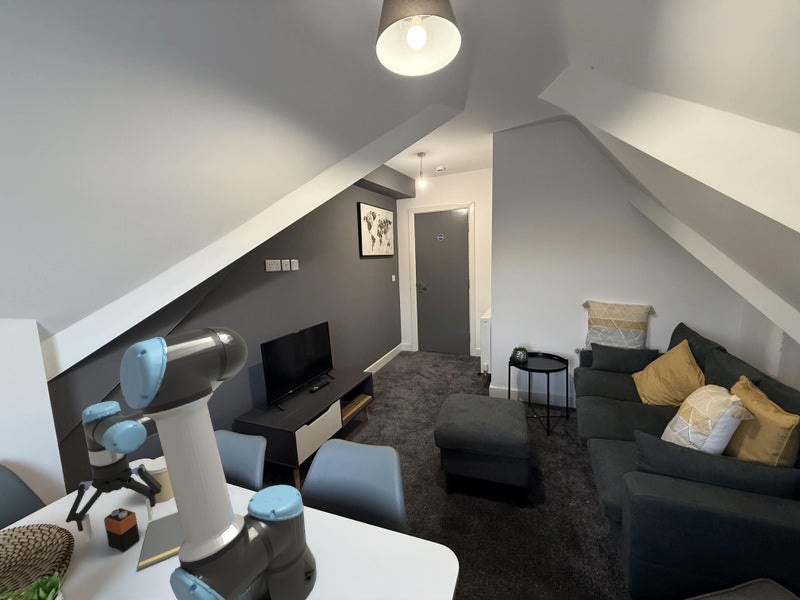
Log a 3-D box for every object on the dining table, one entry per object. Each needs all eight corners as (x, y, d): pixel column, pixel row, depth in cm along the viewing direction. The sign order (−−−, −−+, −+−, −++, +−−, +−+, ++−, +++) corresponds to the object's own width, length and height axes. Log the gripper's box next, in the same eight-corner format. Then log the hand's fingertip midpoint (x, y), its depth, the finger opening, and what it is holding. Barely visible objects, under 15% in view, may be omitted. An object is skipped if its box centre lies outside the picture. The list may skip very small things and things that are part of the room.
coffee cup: (189, 486, 115) (184, 454, 113) (166, 505, 106) (160, 472, 104) (167, 484, 117) (162, 453, 115) (142, 503, 108) (136, 470, 106)
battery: (123, 553, 89) (118, 520, 87) (108, 547, 91) (102, 515, 90) (141, 540, 93) (135, 508, 91) (125, 534, 95) (120, 504, 94)
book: (201, 545, 90) (200, 543, 90) (137, 571, 83) (137, 569, 83) (202, 504, 105) (202, 502, 105) (149, 523, 99) (149, 522, 98)
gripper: (166, 437, 98) (175, 501, 101) (51, 467, 86) (65, 538, 88) (163, 450, 91) (173, 517, 94) (38, 483, 79) (54, 559, 82)
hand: (121, 527), depth 91 cm, fingers open, 13 cm apart
